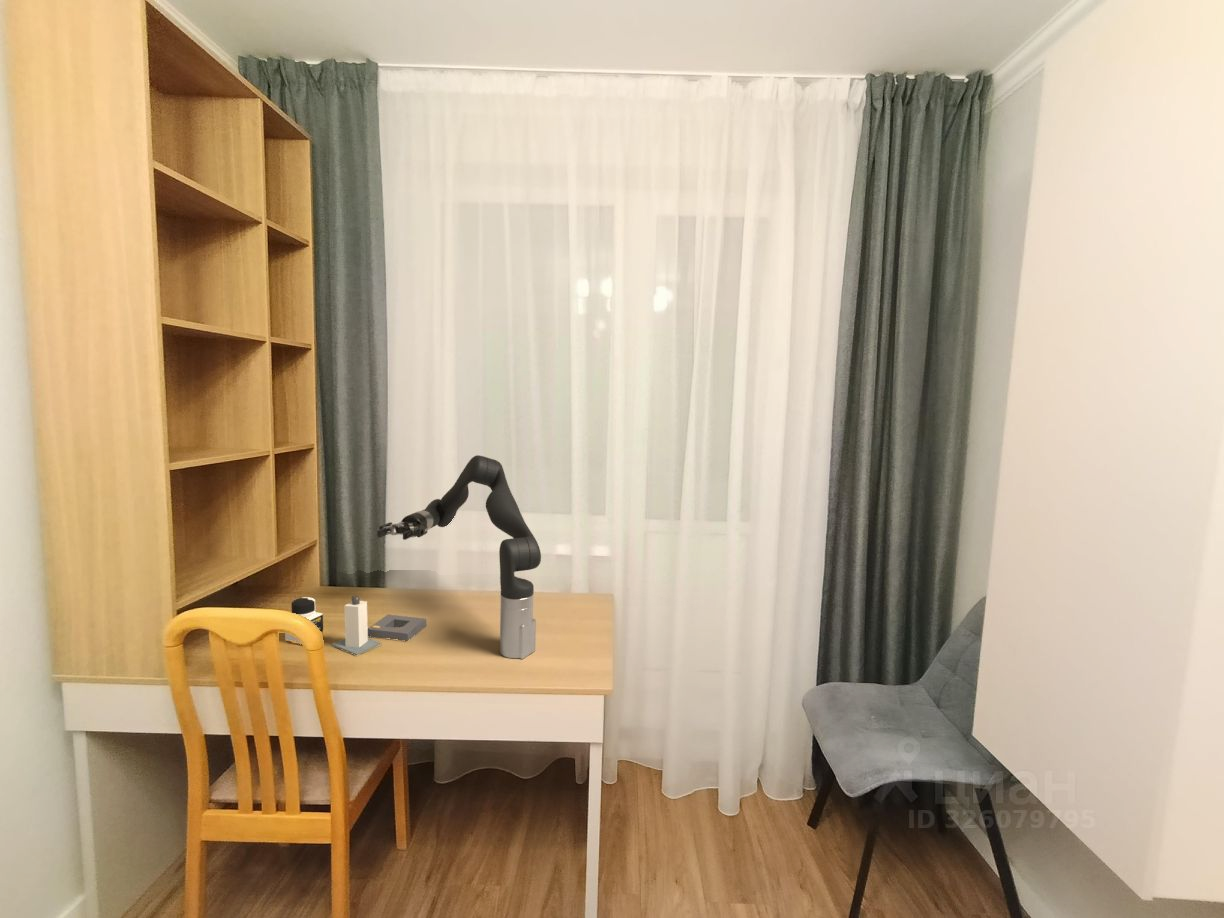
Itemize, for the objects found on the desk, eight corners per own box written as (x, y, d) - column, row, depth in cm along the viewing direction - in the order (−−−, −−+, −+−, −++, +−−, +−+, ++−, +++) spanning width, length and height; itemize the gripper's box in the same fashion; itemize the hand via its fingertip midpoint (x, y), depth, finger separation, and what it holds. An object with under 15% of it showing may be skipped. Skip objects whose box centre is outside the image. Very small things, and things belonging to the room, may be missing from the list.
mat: (381, 645, 160) (381, 643, 160) (356, 656, 153) (356, 654, 153) (356, 635, 166) (356, 633, 166) (331, 645, 159) (331, 643, 159)
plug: (367, 641, 161) (366, 594, 159) (359, 647, 157) (358, 600, 155) (354, 639, 162) (353, 593, 160) (345, 646, 158) (344, 598, 156)
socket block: (426, 626, 174) (426, 617, 173) (407, 641, 163) (407, 632, 163) (387, 621, 176) (387, 613, 175) (367, 636, 165) (367, 628, 165)
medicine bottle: (303, 646, 158) (302, 605, 156) (284, 641, 160) (283, 601, 159) (324, 636, 165) (322, 597, 163) (305, 631, 167) (304, 593, 165)
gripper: (398, 511, 189) (370, 522, 174) (437, 514, 187) (412, 525, 171) (398, 532, 190) (370, 545, 175) (437, 535, 188) (412, 549, 172)
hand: (391, 535), depth 173 cm, fingers open, 8 cm apart
